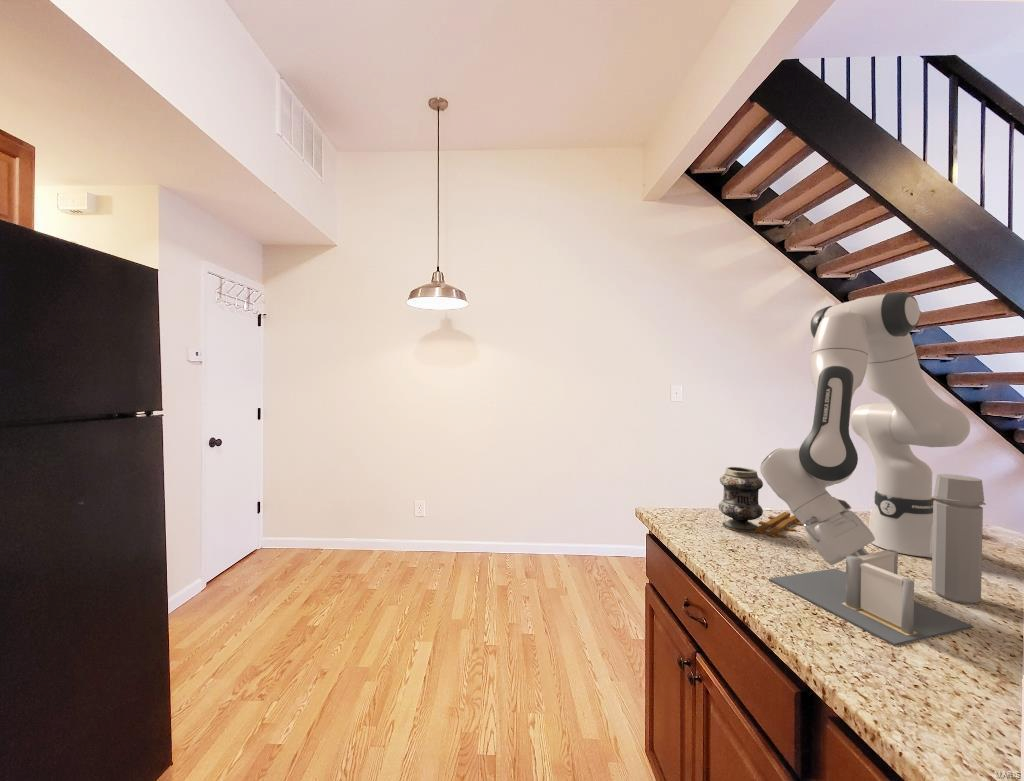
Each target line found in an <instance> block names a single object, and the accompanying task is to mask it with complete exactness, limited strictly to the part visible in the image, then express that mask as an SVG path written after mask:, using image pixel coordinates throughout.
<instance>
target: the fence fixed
mask: <svg viewBox="0 0 1024 781" xmlns="http://www.w3.org/2000/svg"><path fill="white" fill-rule="evenodd" d="M845 572H846V603H845V604H846V605H847V606H849V607H851V608H855V609H860V608H861V609H864V610H866V611H868V612H870V613H872V614H874V615H876V616H878V617H880V618H882V619H884V620H886V621H889V622H891V623H893V624H895V625H897V626H899V627H901V631H903V632H904V633H907V634H913V625H914V601H915V581H914V580H912V579H909V578H907V577H905V576H902V575H898V573H897V574H894V573H891V572H889V571H886V570H884V569H881V568H878V567H876V566H873V565H870V564H868V563H864V564H862V559H861V558H859V557H856V556H851V555H848V556H846V558H845Z"/></svg>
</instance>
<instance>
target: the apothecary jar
mask: <svg viewBox="0 0 1024 781" xmlns="http://www.w3.org/2000/svg"><path fill="white" fill-rule="evenodd" d="M719 483H720V484H721V485H722V486H723V499H722V500H721V501H719V504H718V509H719V511H720V512H721V514H723V515H724V516H726V517H728V518H730V519H728V520H725V521H723V522H722V526H723V527H724V528H726V529H728V530H732V531H735V532H742V533H753V532H755V528H756V527H758V525H756V524H754V523H752V522H750V521H753V520H754V521H755V520H757V519H760V518H761V517H762V516H763V512H764V509H763V507H762V506H761V505H760V504H759V490H762V488H763V486H764V483H763V480H762V479H761V478H760V477H759V476H758V471H757V470H756V469H753V468H749V467H742V466H727V467H726V468H725V472H724V474H722V475H721V476H720V477H719Z"/></svg>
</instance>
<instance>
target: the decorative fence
mask: <svg viewBox="0 0 1024 781" xmlns="http://www.w3.org/2000/svg"><path fill="white" fill-rule="evenodd" d="M768 519H770V520H768V521H762V520H759V521H758V524H759V525H757V527H756V528H755V532H756V533H761V534H763V535H764V534H765V535H768V536H771V537H775V538H780V537H781V538H782V539H787V535H785V534H781V532H783V531H789V532H793V531H795V533H796V532H797V529H795V528H792V527H788V526H789V525H795V524H796V525H795V526H800V527H801V526H803V524H802V523H801V522H800V521H799V520H798V519H797V518H796V516H795V515H794V514H793V515H791V512H787V511H784V512H782V513H780V514H778V515H777V516H772V515H770V516H768ZM803 527H804V526H803ZM770 528H771V529H770ZM783 529H784V530H783Z"/></svg>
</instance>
